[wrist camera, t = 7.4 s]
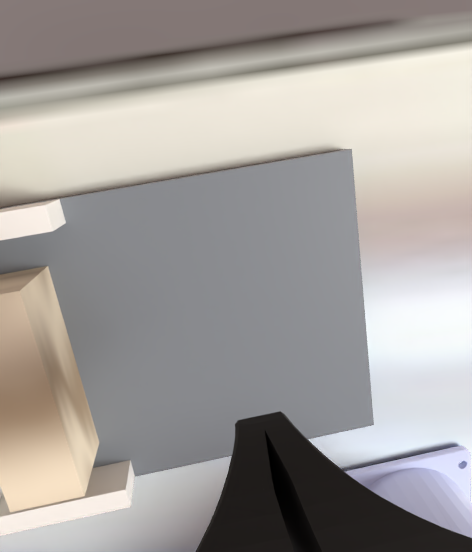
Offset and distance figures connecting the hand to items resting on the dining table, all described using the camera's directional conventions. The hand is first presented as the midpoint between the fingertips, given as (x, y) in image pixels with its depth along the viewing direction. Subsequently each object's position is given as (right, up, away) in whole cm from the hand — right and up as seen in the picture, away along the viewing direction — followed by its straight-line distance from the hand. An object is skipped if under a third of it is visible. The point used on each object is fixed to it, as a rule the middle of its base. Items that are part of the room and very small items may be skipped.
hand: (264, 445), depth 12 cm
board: (-8, +1, +9) cm, 12 cm away
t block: (-13, 0, +8) cm, 15 cm away
